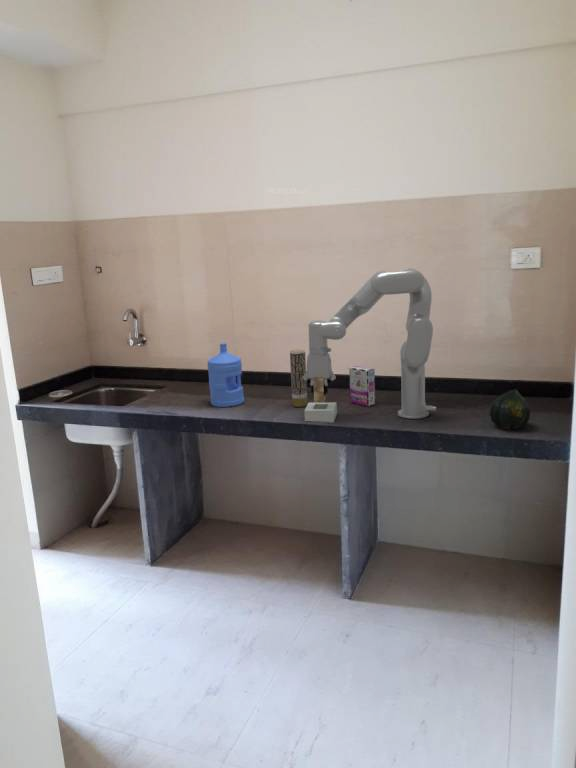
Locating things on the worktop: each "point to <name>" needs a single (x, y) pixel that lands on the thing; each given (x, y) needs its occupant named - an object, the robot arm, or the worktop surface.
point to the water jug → (225, 379)
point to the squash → (510, 410)
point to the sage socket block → (321, 412)
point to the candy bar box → (362, 386)
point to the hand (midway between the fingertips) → (319, 393)
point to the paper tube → (298, 378)
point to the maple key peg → (319, 390)
